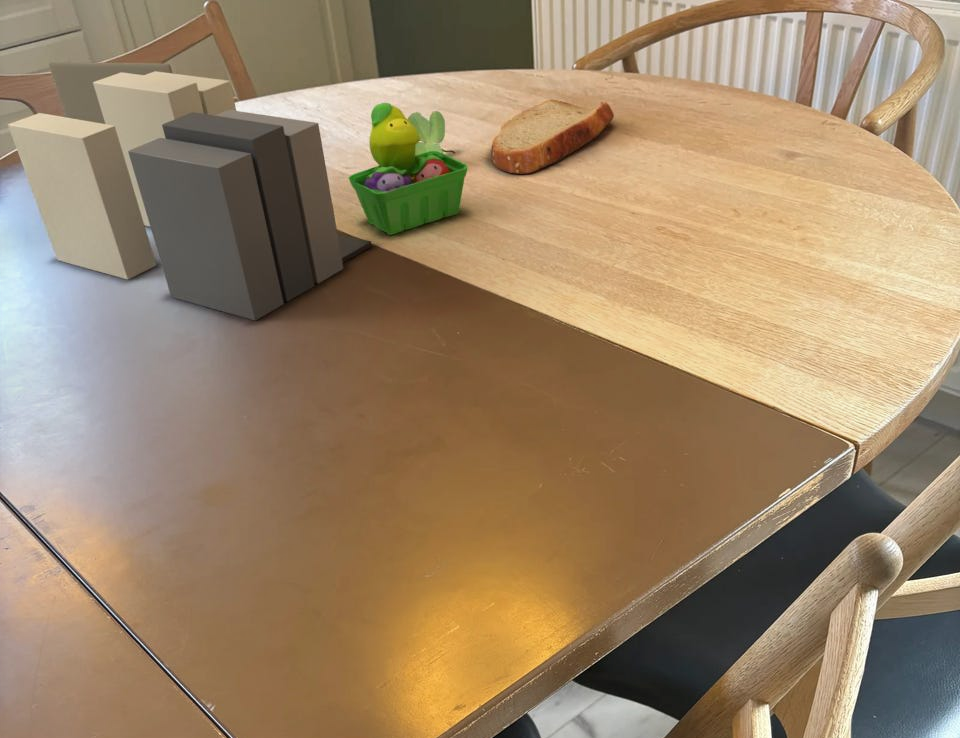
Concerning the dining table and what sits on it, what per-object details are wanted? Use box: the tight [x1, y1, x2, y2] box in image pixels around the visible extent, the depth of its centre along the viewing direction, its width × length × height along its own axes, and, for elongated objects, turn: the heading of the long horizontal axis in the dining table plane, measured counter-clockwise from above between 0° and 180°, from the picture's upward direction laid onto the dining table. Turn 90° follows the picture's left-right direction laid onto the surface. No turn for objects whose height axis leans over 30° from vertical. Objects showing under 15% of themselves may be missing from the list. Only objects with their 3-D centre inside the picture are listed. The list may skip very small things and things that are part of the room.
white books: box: [93, 71, 237, 228], centre depth 115 cm, size 14×12×15 cm
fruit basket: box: [348, 102, 469, 236], centre depth 109 cm, size 11×9×11 cm
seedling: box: [407, 110, 456, 155], centre depth 126 cm, size 7×8×7 cm
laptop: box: [48, 61, 173, 124], centre depth 131 cm, size 18×12×13 cm
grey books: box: [128, 110, 373, 322], centre depth 100 cm, size 19×12×15 cm, turn 145°
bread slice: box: [490, 99, 615, 175], centre depth 126 cm, size 18×18×4 cm
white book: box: [7, 112, 157, 281], centre depth 106 cm, size 4×12×14 cm, turn 55°
